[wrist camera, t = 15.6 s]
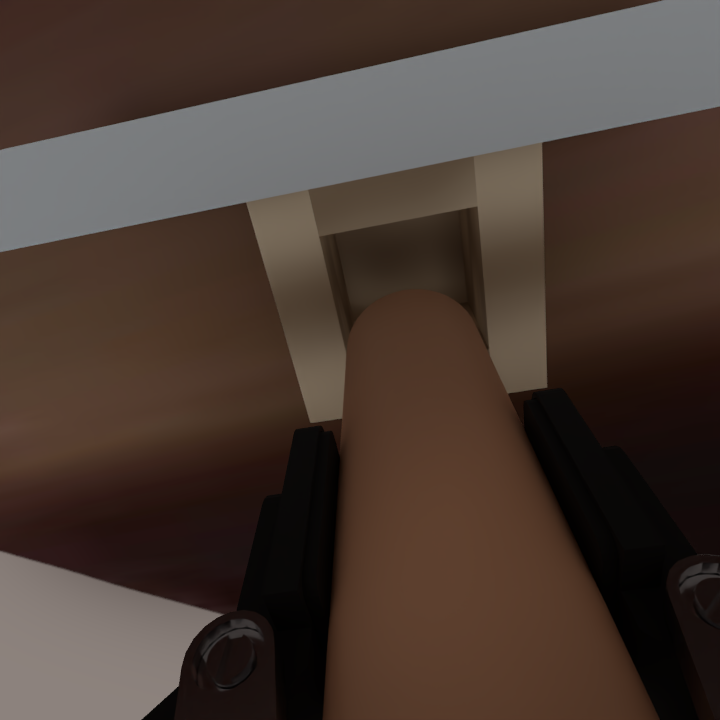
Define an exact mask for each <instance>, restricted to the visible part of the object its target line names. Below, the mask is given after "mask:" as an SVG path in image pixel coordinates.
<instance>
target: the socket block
mask: <svg viewBox="0 0 720 720" xmlns="http://www.w3.org/2000/svg"><path fill="white" fill-rule="evenodd" d="M246 204H247V207H248V210H249V214H250V217H251V221H252V224H253V228H254V231H255V234H256V238H257V241H258V245H259V248H260V252H261V255H262V258H263V262H264V265H265V269H266V272H267V276H268V279H269V282H270V286H271V289H272V293H273V296H274V300H275V303H276V306H277V310H278V313H279V317H280V320H281V324H282V327H283V330H284V334H285V337H286V341H287V344H288V348H289V351H290V354H291V358H292V361H293V365H294V368H295V372H296V375H297V378H298V382H299V385H300V389H301V392H302V396H303V399H304V402H305V406H306V409H307V413H308V416H309V420H310V423H314V422H321V421H328V420H334V419H341V418H342V415H343V399H344V384H345V369H346V354H347V343H348V338H349V334H350V331H351V329H352V327H353V325H354V323H355V321H356V320H357V318H358V317H359V316H360V314H361V313H362V312H363V311H364V310H365V309H366V308H367V307H368V306H369V305H371V304H372V303H374V302H375V301H376V300H378V299H380V298H382V297H384V296H386V295H388V294H391V293H394V292H397V291H402V290H409V289H424V290H431V291H435V292H439V293H441V294H444V295H446V296H448V297H450V298H452V299H453V300H455V301H456V302H458V303H459V304H460V305H461V306H462V307H463V308H464V309H465V310H466V311H467V312H468V313H469V315H470V316H471V317H472V319H473V321H474V323H475V325H476V327H477V329H478V332H479V334H480V336H481V338H482V340H483V342H484V344H485V347H486V349H487V351H488V353H489V355H490V357H491V359H492V361H493V364H494V366H495V368H496V370H497V372H498V374H499V376H500V379H501V381H502V383H503V385H504V387H505V389H506V391H507V393H513V392H520V391H527V390H533V389H540V388H547V358H546V311H545V263H544V216H543V169H542V142H541V143H536V144H531V145H527V146H522V147H517V148H512V149H507V150H502V151H497V152H492V153H487V154H482V155H477V156H472V157H467V158H462V159H457V160H452V161H447V162H443V163H438V164H433V165H428V166H423V167H418V168H413V169H408V170H403V171H398V172H393V173H388V174H383V175H378V176H373V177H368V178H363V179H358V180H354V181H349V182H344V183H339V184H334V185H329V186H324V187H319V188H314V189H309V190H304V191H299V192H294V193H289V194H284V195H279V196H274V197H270V198H265V199H260V200H255V201H250V202H246Z"/></svg>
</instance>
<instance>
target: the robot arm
mask: <svg viewBox="0 0 720 720" xmlns="http://www.w3.org/2000/svg"><path fill="white" fill-rule="evenodd" d="M524 426H525V432H526V434H527V436H528V439H529V441H530V443H531V445H532V447H533V449H534V451H535V454H536V456H537V458H538V460H539V462H540V464H541V466H542V469H543V471H544V473H545V475H546V477H547V479H548V481H549V484H550V486H551V488H552V490H553V492H554V494H555V496H556V499H557V501H558V503H559V505H560V507H561V509H562V511H563V514H564V516H565V518H566V520H567V522H568V524H569V526H570V528H571V531H572V533H573V535H574V537H575V539H576V541H577V543H578V546H579V548H580V550H581V552H582V554H583V556H584V558H585V561H586V563H587V565H588V567H589V569H590V571H591V573H592V576H593V578H594V580H595V582H596V584H597V586H598V588H599V591H600V593H601V595H602V597H603V599H604V601H605V603H606V605H607V607H608V610H609V612H610V614H611V616H612V618H613V620H614V622H615V625H616V627H617V629H618V631H619V633H620V635H621V637H622V640H623V642H624V644H625V646H626V648H627V650H628V652H629V654H630V657H631V659H632V661H633V663H634V665H635V667H636V669H637V672H638V674H639V676H640V678H641V680H642V682H643V684H644V687H645V689H646V691H647V693H648V695H649V697H650V699H651V702H652V704H653V706H654V708H655V710H656V712H657V714H658V717H659V719H660V720H720V556H716V555H709V554H703V555H697V553H696V552H695V550H694V549H693V548H692V546H691V545H690V543H689V542H688V541H687V539H686V538H685V536H684V535H683V534H682V532H681V531H680V529H679V528H678V527H677V525H676V524H675V522H674V521H673V520H672V518H671V517H670V515H669V514H668V513H667V511H666V510H665V508H664V507H663V505H662V504H661V503H660V501H659V500H658V498H657V497H656V496H655V494H654V493H653V491H652V490H651V489H650V487H649V486H648V484H647V483H646V482H645V480H644V479H643V477H642V476H641V475H640V473H639V472H638V470H637V469H636V468H635V466H634V465H633V463H632V462H631V461H630V459H629V458H628V456H627V455H626V454H625V452H624V451H623V450H622V449H621V448H620V447H618V446H610V447H603V448H602V447H601V446H600V444H599V443H598V441H597V440H596V438H595V437H594V435H593V434H592V432H591V431H590V429H589V428H588V426H587V425H586V423H585V421H584V420H583V418H582V417H581V415H580V414H579V412H578V411H577V409H576V408H575V406H574V405H573V403H572V402H571V400H570V399H569V397H568V396H567V394H566V393H565V391H564V390H563V389H562V388H558V389H551V390H545V391H539V392H534V393H533V395H532V400H526V401H524ZM339 463H340V457H339V453H338V449H337V446H336V442H335V438H334V435H333V432H332V431H326V432H324V430H323V428H322V426H315V427H308V428H302V429H296V430H295V432H294V436H293V441H292V446H291V451H290V456H289V461H288V466H287V471H286V476H285V481H284V486H283V491H282V494H276V495H270V496H267V497H266V498H265V499H264V502H263V504H262V508H261V512H260V517H259V521H258V525H257V529H256V533H255V537H254V541H253V545H252V549H251V554H250V558H249V562H248V566H247V570H246V574H245V578H244V582H243V586H242V591H241V595H240V599H239V603H238V607H237V611H234V612H229V613H227V614H225V615H222V616H220V617H218V618H216V619H215V620H213V621H212V622H211V623H209V624H208V625H206V626H205V627H204V628H203V629H202V630H201V631H200V632H199V634H198V635H197V636H196V637H195V638H194V639H193V641H192V643H191V645H190V646H189V648H188V650H187V651H186V654H185V657H184V661H183V664H182V668H181V675H180V682H179V686H178V687H177V688H176V689H175V690H174V691H173V692H172V693H171V694H170V695H168V696H167V697H166V698H165V699H164V700H163V701H162V702H161V703H160V704H158V705H157V706H156V707H155V708H154V709H153V710H152V711H151V712H150V713H149V714H147V715H146V716H145V717H144V718H143V719H142V720H322V719H323V704H324V689H325V674H326V658H327V643H328V628H329V616H330V601H331V585H332V570H333V555H334V539H335V524H336V509H337V493H338V478H339Z"/></svg>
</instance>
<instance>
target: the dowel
mask: <svg viewBox="0 0 720 720" xmlns="http://www.w3.org/2000/svg"><path fill="white" fill-rule="evenodd" d="M322 720H660V719H659V717H658V714H657V712H656V710H655V708H654V706H653V704H652V702H651V699H650V697H649V695H648V693H647V691H646V689H645V687H644V684H643V682H642V680H641V678H640V676H639V674H638V672H637V669H636V667H635V665H634V663H633V661H632V659H631V657H630V654H629V652H628V650H627V648H626V646H625V644H624V642H623V640H622V637H621V635H620V633H619V631H618V629H617V627H616V625H615V622H614V620H613V618H612V616H611V614H610V612H609V610H608V607H607V605H606V603H605V601H604V599H603V597H602V595H601V593H600V591H599V588H598V586H597V584H596V582H595V580H594V578H593V576H592V573H591V571H590V569H589V567H588V565H587V563H586V561H585V558H584V556H583V554H582V552H581V550H580V548H579V546H578V543H577V541H576V539H575V537H574V535H573V533H572V531H571V528H570V526H569V524H568V522H567V520H566V518H565V516H564V514H563V511H562V509H561V507H560V505H559V503H558V501H557V499H556V496H555V494H554V492H553V490H552V488H551V486H550V484H549V481H548V479H547V477H546V475H545V473H544V471H543V469H542V466H541V464H540V462H539V460H538V458H537V456H536V454H535V451H534V449H533V447H532V445H531V443H530V441H529V439H528V436H527V434H526V432H525V430H524V428H523V426H522V424H521V421H520V419H519V417H518V415H517V413H516V411H515V409H514V406H513V404H512V402H511V400H510V398H509V396H508V394H507V391H506V389H505V387H504V385H503V383H502V381H501V379H500V376H499V374H498V372H497V370H496V368H495V366H494V364H493V361H492V359H491V357H490V355H489V353H488V351H487V349H486V347H485V344H484V342H483V340H482V338H481V336H480V334H479V332H478V329H477V327H476V325H475V323H474V321H473V319H472V317H471V316H470V315H469V313H468V312H467V311H466V310H465V309H464V308H463V307H462V306H461V305H460V304H459V303H458V302H456V301H455V300H453V299H452V298H450V297H448V296H446V295H444V294H441V293H439V292H435V291H431V290H424V289H409V290H402V291H397V292H394V293H391V294H388V295H386V296H384V297H382V298H380V299H378V300H376V301H375V302H374V303H372V304H371V305H369V306H368V307H367V308H366V309H365V310H364V311H363V312H362V313H361V314H360V316H359V317H358V318H357V320H356V321H355V323H354V325H353V327H352V329H351V331H350V334H349V338H348V343H347V354H346V369H345V384H344V399H343V415H342V430H341V445H340V463H339V478H338V493H337V509H336V524H335V539H334V555H333V570H332V585H331V601H330V616H329V628H328V643H327V658H326V674H325V689H324V704H323V719H322Z"/></svg>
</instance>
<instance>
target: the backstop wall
mask: <svg viewBox="0 0 720 720" xmlns="http://www.w3.org/2000/svg"><path fill="white" fill-rule="evenodd" d="M719 106H720V0H663V1H659V2H654V3H650V4H646V5H641V6H637V7H632V8H628V9H623V10H619V11H615V12H610V13H606V14H601V15H597V16H592V17H588V18H584V19H579V20H575V21H570V22H566V23H561V24H557V25H553V26H548V27H544V28H539V29H535V30H530V31H526V32H522V33H517V34H513V35H508V36H504V37H499V38H495V39H490V40H486V41H482V42H477V43H473V44H468V45H464V46H459V47H455V48H451V49H446V50H442V51H437V52H433V53H428V54H424V55H420V56H415V57H411V58H406V59H402V60H397V61H393V62H389V63H384V64H380V65H375V66H371V67H366V68H362V69H357V70H353V71H349V72H344V73H340V74H335V75H331V76H326V77H322V78H318V79H313V80H309V81H304V82H300V83H295V84H291V85H287V86H282V87H278V88H273V89H269V90H264V91H260V92H256V93H251V94H247V95H242V96H238V97H233V98H229V99H225V100H220V101H216V102H211V103H207V104H202V105H198V106H193V107H189V108H185V109H180V110H176V111H171V112H167V113H162V114H158V115H154V116H149V117H145V118H140V119H136V120H131V121H127V122H123V123H118V124H114V125H109V126H105V127H100V128H96V129H92V130H87V131H83V132H78V133H74V134H69V135H65V136H61V137H56V138H52V139H47V140H43V141H38V142H34V143H29V144H25V145H21V146H16V147H12V148H7V149H3V150H0V252H3V251H8V250H13V249H17V248H22V247H27V246H32V245H37V244H42V243H47V242H52V241H57V240H62V239H67V238H72V237H77V236H82V235H87V234H92V233H97V232H101V231H106V230H111V229H116V228H121V227H126V226H131V225H136V224H141V223H146V222H151V221H156V220H161V219H166V218H171V217H176V216H181V215H186V214H190V213H195V212H200V211H205V210H210V209H215V208H220V207H225V206H230V205H235V204H240V203H245V202H250V201H255V200H260V199H265V198H270V197H274V196H279V195H284V194H289V193H294V192H299V191H304V190H309V189H314V188H319V187H324V186H329V185H334V184H339V183H344V182H349V181H354V180H358V179H363V178H368V177H373V176H378V175H383V174H388V173H393V172H398V171H403V170H408V169H413V168H418V167H423V166H428V165H433V164H438V163H443V162H447V161H452V160H457V159H462V158H467V157H472V156H477V155H482V154H487V153H492V152H497V151H502V150H507V149H512V148H517V147H522V146H527V145H531V144H536V143H541V142H546V141H551V140H556V139H561V138H566V137H571V136H576V135H581V134H586V133H591V132H596V131H601V130H606V129H611V128H615V127H620V126H625V125H630V124H635V123H640V122H645V121H650V120H655V119H660V118H665V117H670V116H675V115H680V114H685V113H690V112H695V111H700V110H704V109H709V108H714V107H719Z"/></svg>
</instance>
